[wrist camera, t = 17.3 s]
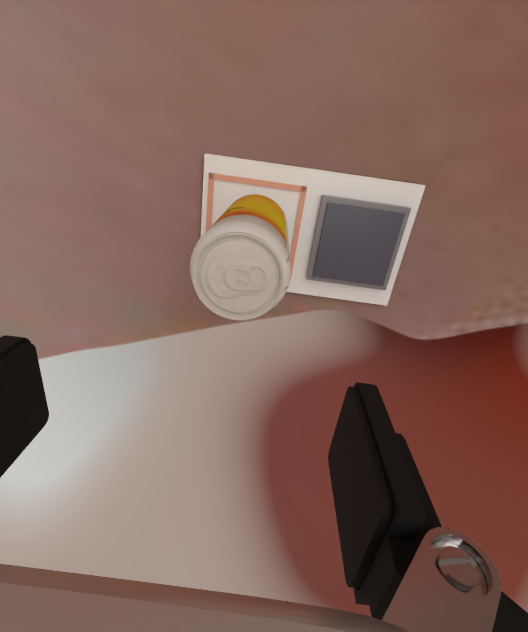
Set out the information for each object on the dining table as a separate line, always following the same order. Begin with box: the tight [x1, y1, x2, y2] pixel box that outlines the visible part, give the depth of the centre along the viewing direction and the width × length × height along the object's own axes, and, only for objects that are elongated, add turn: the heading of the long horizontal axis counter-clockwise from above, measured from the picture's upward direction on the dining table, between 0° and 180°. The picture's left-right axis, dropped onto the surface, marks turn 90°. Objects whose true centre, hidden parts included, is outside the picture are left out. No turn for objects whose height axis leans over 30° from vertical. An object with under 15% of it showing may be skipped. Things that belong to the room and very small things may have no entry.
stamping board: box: [201, 153, 426, 306], centre depth 33 cm, size 20×12×2 cm, turn 82°
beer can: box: [190, 194, 291, 320], centre depth 26 cm, size 6×6×15 cm
